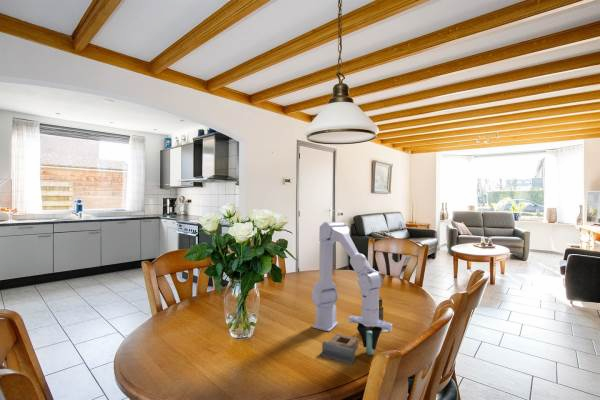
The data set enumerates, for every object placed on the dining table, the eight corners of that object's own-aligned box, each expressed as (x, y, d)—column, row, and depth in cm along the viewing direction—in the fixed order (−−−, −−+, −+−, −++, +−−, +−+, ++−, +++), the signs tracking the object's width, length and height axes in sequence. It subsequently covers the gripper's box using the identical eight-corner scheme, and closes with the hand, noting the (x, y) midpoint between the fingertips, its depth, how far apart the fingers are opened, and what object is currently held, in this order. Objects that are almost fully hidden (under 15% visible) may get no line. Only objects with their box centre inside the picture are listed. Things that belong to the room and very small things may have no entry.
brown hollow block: (336, 342, 112) (336, 333, 112) (358, 348, 108) (358, 338, 108) (327, 352, 105) (328, 342, 105) (350, 358, 101) (350, 347, 101)
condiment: (379, 323, 130) (379, 295, 130) (389, 331, 121) (389, 301, 121) (363, 325, 128) (363, 296, 128) (373, 333, 120) (373, 303, 120)
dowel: (367, 350, 106) (367, 330, 106) (374, 352, 105) (374, 331, 105) (364, 353, 104) (365, 332, 104) (372, 355, 103) (372, 334, 103)
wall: (323, 351, 105) (324, 341, 105) (354, 359, 100) (354, 349, 100) (319, 355, 102) (320, 345, 102) (351, 364, 97) (351, 353, 97)
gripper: (345, 307, 105) (345, 346, 105) (388, 315, 98) (388, 357, 98) (352, 301, 111) (352, 338, 111) (393, 308, 104) (393, 348, 104)
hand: (369, 347), depth 105 cm, fingers closed on dowel, 3 cm apart
